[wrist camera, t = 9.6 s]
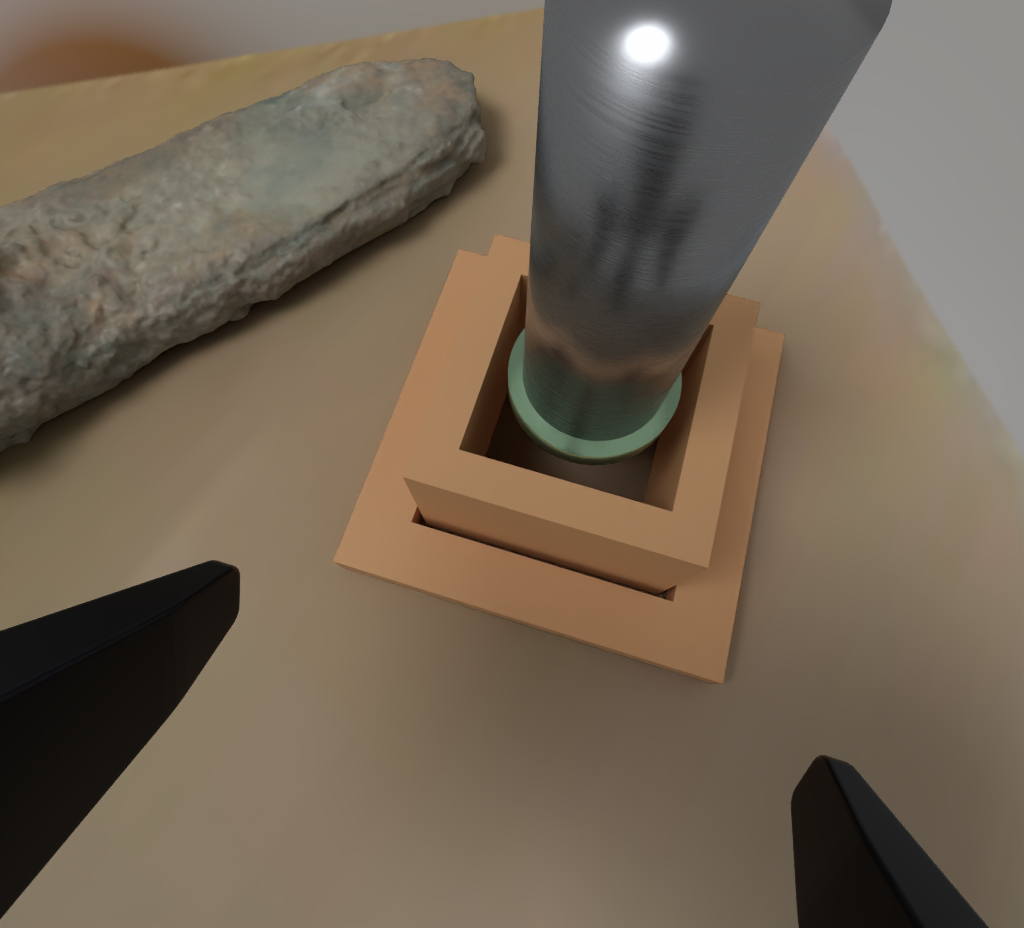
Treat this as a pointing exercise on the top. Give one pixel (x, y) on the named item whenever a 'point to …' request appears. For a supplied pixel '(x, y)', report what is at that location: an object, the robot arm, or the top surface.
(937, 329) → the top surface
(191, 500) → the top surface
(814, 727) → the top surface
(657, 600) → the orange square socket base
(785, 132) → the cylinder
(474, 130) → the elongated rock
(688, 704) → the top surface
